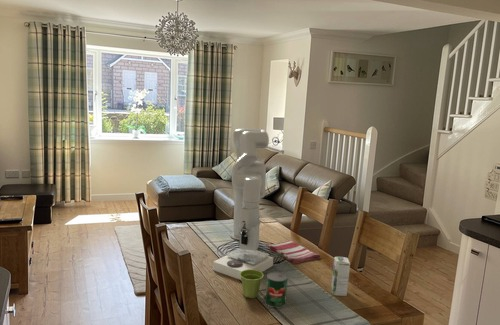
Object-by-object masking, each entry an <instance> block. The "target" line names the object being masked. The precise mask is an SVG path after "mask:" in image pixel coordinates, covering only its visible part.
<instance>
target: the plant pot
mask: <svg viewBox="0 0 500 325" xmlns="http://www.w3.org/2000/svg"><path fill="white" fill-rule="evenodd" d="M240 277H241V280H240V281H241V287H242V294H243V296H244V297H245V298H249V299H255V298H257V297H258V296H259V294H260V287H261V283H262V280H263V278H264V273H263V272H260V271H258V270H244V271H242V272H240Z"/></svg>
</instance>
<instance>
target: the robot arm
mask: <svg viewBox="0 0 500 325" xmlns="http://www.w3.org/2000/svg"><path fill="white" fill-rule="evenodd" d="M232 136H233V137H232V138H233V139H232V140H233V142H234V147H235V149H236V161H235V162H234V163H233V165H232V168H231V184H232V185H231V186H232V188H233V198H234V199H233V205H234V206H233V225H232V226H233V227H232V232H231V233H230V235H229V236H230V238H232V239H233V240H238V241H240V234H241V244H244V245H247V243H248V236H247V234H248V231H249V230H251V228H253V227H255V226H258V225H259V226H260V225H261V222H262V221H261V220H260V219H261V218H260V216H261V215H260V200H261V199H263V198H264V197H265V196H266V187H267V185H266V183H267V182H266V181H267V167H266V163H265V162H263V161H259V160H258V158H259V155H258V154H259V153H258V152H259V151H258V149H266V148H268V146H269V142H270V138H269V134H268V132H267V131H266V130H265V129H263V128H262V129H258V128H237V129H235V130H234V131H233V134H232ZM244 227H245V228H246V229H244ZM244 230H245V231H246V232H244Z"/></svg>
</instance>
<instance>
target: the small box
mask: <svg viewBox="0 0 500 325" xmlns="http://www.w3.org/2000/svg"><path fill="white" fill-rule="evenodd" d="M244 229H246V228H245V227H244ZM244 232H246V231H245V230H244ZM247 236H248V243H247V245H244V244H241V234H240V240H239V248H240V249H245V250H253V251H256V250H258V248H259V247H260V246H259V244H260V225H258V226H255V227H253V228H251V230H249V231H248V234H247Z"/></svg>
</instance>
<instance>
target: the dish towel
mask: <svg viewBox="0 0 500 325" xmlns="http://www.w3.org/2000/svg"><path fill="white" fill-rule="evenodd" d="M266 247H267V248H268V249H269V250H270V251H272V252H273V253H275V254H277V255H279V256H280V257H281V258H283V259H286V260H287V261H289V262H290V263H292V264H293V265H294V264H298V263H303V262H308V261H312V260H317V259H320V258H321V255H320V254H319V253H315V252H313V251H312V250H309V249H308V248H306V247H304V246H302V245H300V244H298V243H297V242H295V241H292V240H288V241H285V242H284V241H282V242H278V243H273V244H267V246H266Z"/></svg>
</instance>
